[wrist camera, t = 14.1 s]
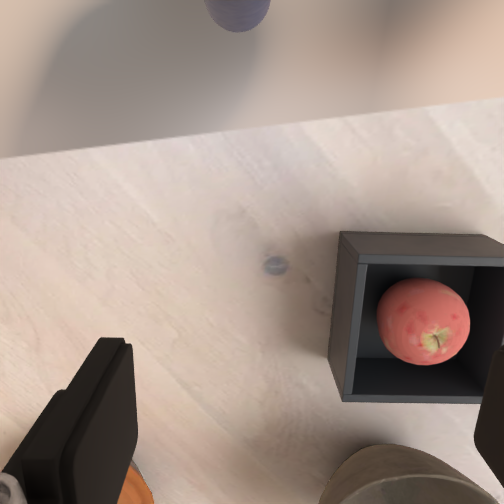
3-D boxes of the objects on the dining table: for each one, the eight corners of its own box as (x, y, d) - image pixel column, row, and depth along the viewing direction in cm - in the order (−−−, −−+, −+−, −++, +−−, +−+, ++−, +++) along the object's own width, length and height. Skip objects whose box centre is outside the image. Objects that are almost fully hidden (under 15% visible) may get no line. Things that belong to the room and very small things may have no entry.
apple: (435, 336, 42) (478, 386, 34) (361, 334, 41) (388, 383, 34) (449, 266, 39) (498, 302, 32) (371, 263, 39) (402, 298, 31)
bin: (339, 231, 39) (358, 254, 32) (484, 234, 39) (532, 258, 33) (327, 359, 43) (341, 402, 37) (458, 361, 43) (495, 404, 37)
